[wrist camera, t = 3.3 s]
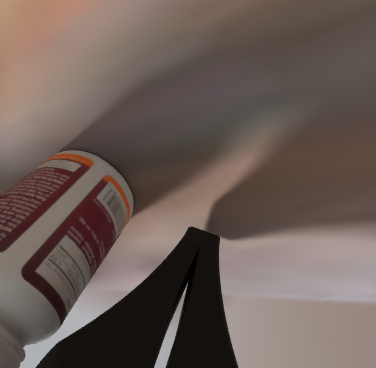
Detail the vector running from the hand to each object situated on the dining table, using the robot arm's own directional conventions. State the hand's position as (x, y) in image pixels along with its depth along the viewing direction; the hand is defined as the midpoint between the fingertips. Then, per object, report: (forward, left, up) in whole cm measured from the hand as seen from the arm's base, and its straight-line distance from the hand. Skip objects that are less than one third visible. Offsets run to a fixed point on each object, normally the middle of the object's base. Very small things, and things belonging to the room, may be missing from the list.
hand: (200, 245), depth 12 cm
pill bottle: (0, +6, -1) cm, 6 cm away
